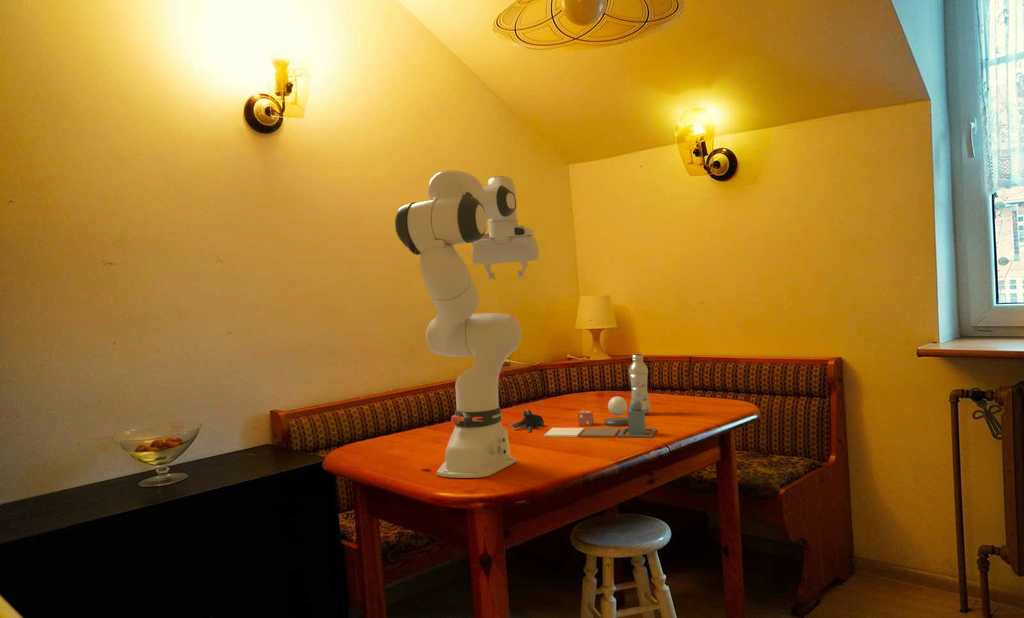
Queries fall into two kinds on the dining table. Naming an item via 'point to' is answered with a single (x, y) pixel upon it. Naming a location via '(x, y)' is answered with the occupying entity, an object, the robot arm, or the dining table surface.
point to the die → (585, 418)
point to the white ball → (617, 406)
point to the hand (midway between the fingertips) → (506, 278)
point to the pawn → (636, 418)
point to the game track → (595, 432)
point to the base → (616, 421)
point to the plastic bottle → (639, 381)
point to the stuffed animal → (529, 421)
